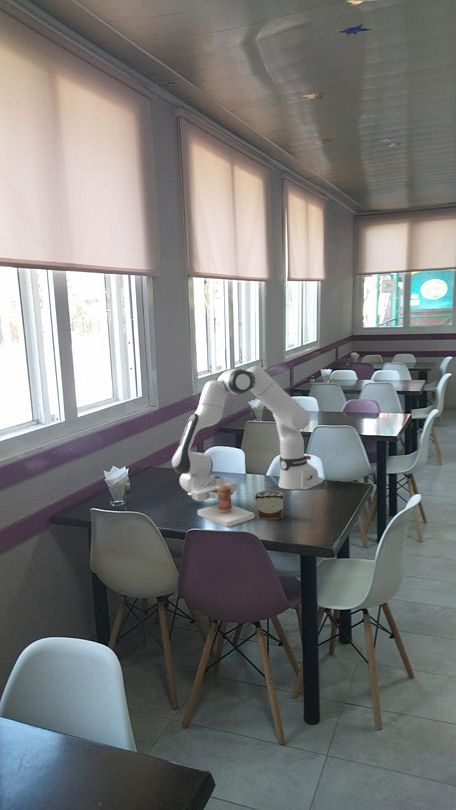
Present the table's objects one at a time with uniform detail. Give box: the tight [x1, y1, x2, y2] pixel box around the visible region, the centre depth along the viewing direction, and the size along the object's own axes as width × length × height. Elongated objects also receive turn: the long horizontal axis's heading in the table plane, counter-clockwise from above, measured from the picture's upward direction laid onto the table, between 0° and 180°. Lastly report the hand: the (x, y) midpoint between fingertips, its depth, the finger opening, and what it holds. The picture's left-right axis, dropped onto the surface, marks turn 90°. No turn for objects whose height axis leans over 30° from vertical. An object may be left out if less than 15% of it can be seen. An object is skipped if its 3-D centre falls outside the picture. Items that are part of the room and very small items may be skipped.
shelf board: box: [197, 503, 255, 528], centre depth 232 cm, size 14×20×2 cm
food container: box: [253, 490, 286, 520], centre depth 229 cm, size 12×6×10 cm, turn 84°
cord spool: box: [216, 484, 234, 512], centre depth 231 cm, size 6×6×10 cm
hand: (225, 494), depth 230 cm, fingers closed on cord spool, 5 cm apart
